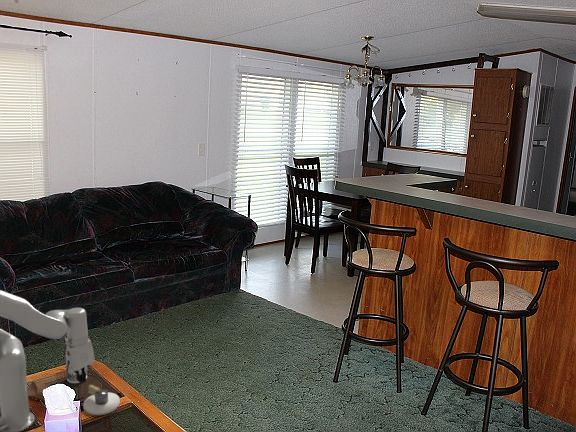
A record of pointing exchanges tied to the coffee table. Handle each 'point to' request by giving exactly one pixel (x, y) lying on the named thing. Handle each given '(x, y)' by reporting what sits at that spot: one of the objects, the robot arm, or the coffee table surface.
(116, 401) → the white plate
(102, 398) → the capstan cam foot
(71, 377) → the grey tall cylinder
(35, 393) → the sunglasses case
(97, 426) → the coffee table surface
